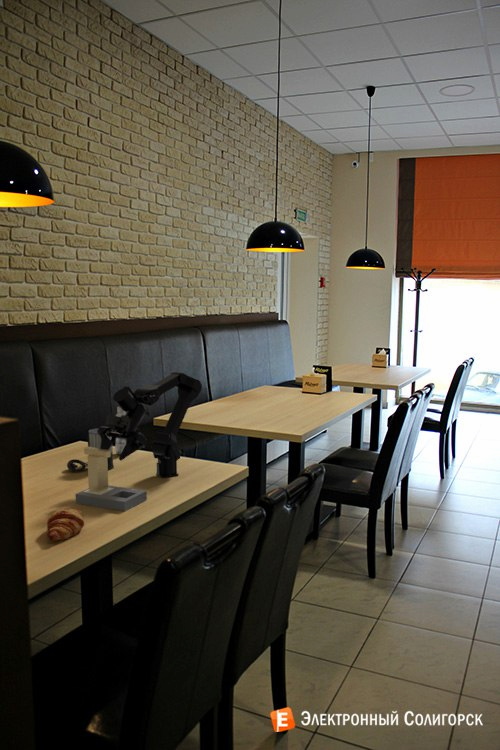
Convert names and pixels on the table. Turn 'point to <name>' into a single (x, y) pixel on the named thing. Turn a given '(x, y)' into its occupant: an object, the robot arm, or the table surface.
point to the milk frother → (94, 442)
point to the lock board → (112, 498)
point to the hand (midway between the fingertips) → (109, 457)
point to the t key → (97, 468)
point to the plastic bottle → (119, 442)
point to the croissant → (64, 524)
